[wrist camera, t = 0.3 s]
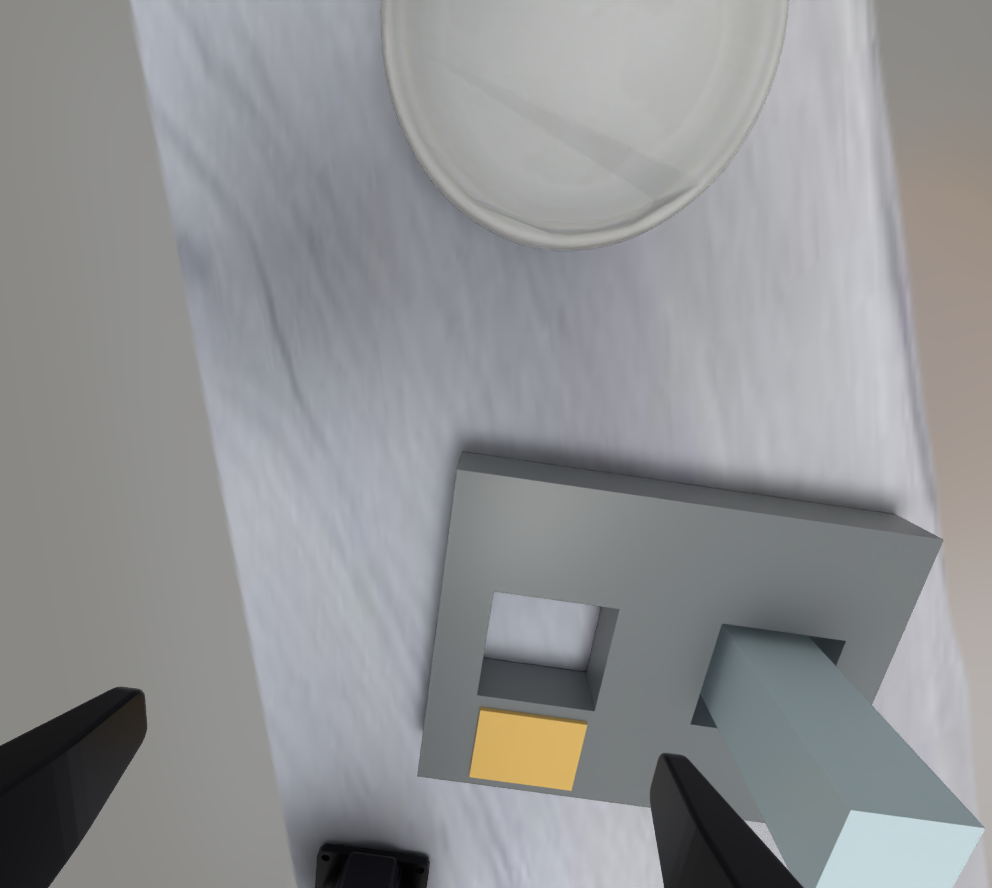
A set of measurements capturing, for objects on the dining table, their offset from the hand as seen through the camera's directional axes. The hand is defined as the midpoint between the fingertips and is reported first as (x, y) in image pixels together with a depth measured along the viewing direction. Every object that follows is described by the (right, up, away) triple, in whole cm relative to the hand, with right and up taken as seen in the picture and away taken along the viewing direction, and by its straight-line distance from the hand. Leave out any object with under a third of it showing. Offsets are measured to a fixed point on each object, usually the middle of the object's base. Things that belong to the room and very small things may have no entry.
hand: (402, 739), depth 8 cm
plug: (+14, -5, +16) cm, 22 cm away
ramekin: (+4, +18, +10) cm, 21 cm away
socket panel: (+9, -4, +16) cm, 19 cm away
